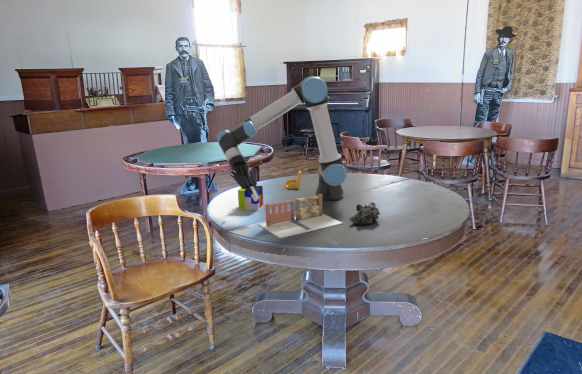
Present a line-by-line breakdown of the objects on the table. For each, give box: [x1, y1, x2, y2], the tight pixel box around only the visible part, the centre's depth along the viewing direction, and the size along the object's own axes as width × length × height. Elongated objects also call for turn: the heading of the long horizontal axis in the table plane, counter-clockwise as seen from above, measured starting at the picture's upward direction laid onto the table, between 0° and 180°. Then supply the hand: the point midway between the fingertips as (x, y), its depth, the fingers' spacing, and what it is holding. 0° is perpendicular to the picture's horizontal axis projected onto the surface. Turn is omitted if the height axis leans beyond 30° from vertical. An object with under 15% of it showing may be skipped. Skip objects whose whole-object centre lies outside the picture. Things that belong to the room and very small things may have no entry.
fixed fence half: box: [294, 194, 323, 220], centre depth 205 cm, size 14×2×10 cm, turn 120°
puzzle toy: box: [237, 185, 264, 211], centre depth 225 cm, size 10×10×10 cm
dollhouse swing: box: [284, 169, 303, 190], centre depth 262 cm, size 10×10×9 cm
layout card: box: [258, 213, 344, 239], centre depth 198 cm, size 32×20×1 cm, turn 120°
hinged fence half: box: [264, 199, 296, 226], centre depth 197 cm, size 14×2×10 cm, turn 120°
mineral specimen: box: [349, 201, 381, 226], centre depth 198 cm, size 15×13×10 cm
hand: (256, 199), depth 204 cm, fingers closed
